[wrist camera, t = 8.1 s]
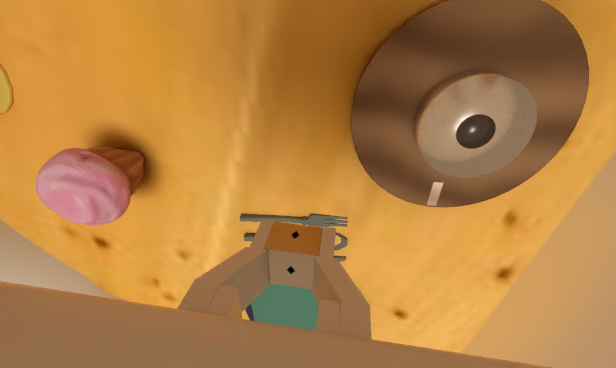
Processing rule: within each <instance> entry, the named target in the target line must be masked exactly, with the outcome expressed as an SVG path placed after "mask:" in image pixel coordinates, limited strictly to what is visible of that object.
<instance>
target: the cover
mask: <svg viewBox="0 0 616 368" xmlns="http://www.w3.org/2000/svg"><path fill="white" fill-rule="evenodd" d="M536 121H537V108H536V103H535V101H534V98H533V96H532V95H531V93H530V92H529V91H528V90H527V89H526V88H525V86H523V85H522V84H520V83H519V82H517V81H515V80H513V79H511V78H508V77H505V76H502V75H500V74H497V73H494V72H491V71H487V70H467V71H463V72H459V73H456V74H453V75H451V76H449V77H447V78H445V79H443V80H442V81H440V82H439V83H437V84H436V85H435V86H434V87H432V88H431V89H430V90H429V91H428V92H427V94H426V95H425V96H424V97H423V99H422V100H421V102H420V103H419V105H418V107H417V110H416V112H415V115H414V120H413V134H414V138H415V141H416V143H417V145H418V147H419V149H420V151H421V153H422V155H423V157H424V158H425V160H426V161H427V163H428V164H429V165H430V166H431V167H432V168H434V169H435V170H437V171H438V172H440V173H442V174H444V175H448V176H451V177H457V178H471V177H478V176H482V175H486V174H489V173H491V172H494V171H496V170H498V169H500V168H502V167H503V166H505V165H507V164H508V163H509V162H511V161H512V160H513V159H514V158H515V157H517V156H518V155H519V154H520V153H521V152H522V150H523V149H524V148H525V147H526V145H527V144H528V142H529V141H530V139H531V137H532V135H533V132H534V130H535V126H536Z"/></svg>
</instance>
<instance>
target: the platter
mask: <svg viewBox="0 0 616 368" xmlns="http://www.w3.org/2000/svg"><path fill="white" fill-rule="evenodd" d="M467 70H487V71H491V72H494V73H497V74H500V75H502V76H505V77H508V78H511V79H513V80H515V81H517V82H519V83H520V84H522V85H523V86H525V88H526V89H527V90H528V91H529V92H530V93H531V95H532V96H533V98H534V101H535V103H536V108H537V121H536V126H535V130H534V132H533V135H532V137H531V139H530V141H529V142H528V144H527V145H526V147H525V148H524V149H523V150H522V152H521V153H520V154H519V155H518V156H517V157H515V158H514V159H513V160H512V161H511V162H509V163H508V164H507V165H505V166H503V167H502V168H500V169H498V170H496V171H494V172H491V173H489V174H486V175H482V176H478V177H471V178H457V177H451V176H448V175H444V174H442V173H440V172H438V171H437V170H435V169H434V168H432V167H431V166H430V165H429V164H428V163H427V161H426V160H425V158H424V157H423V155H422V153H421V151H420V149H419V147H418V145H417V143H416V141H415V138H414V134H413V120H414V115H415V112H416V110H417V107H418V105H419V103H420V102H421V100H422V99H423V97H424V96H425V95H426V94H427V92H428V91H429V90H430V89H431V88H432V87H434V86H435V85H436V84H437V83H439V82H440V81H442V80H443V79H445V78H447V77H449V76H451V75H453V74H456V73H459V72H463V71H467ZM588 85H589V66H588V60H587V54H586V51H585V48H584V45H583V42H582V40H581V38H580V36H579V34H578V33H577V31H576V29H575V28H574V26H573V25H572V24H571V23H570V22H569V21H568V19H567V18H566V17H565V16H564V15H563V14H562V13H560V12H559V11H557V10H556V9H555V8H553V7H552V6H551V5H549V4H547V3H545V2H543V1H540V0H448V1H445V2H442V3H440V4H438V5H435V6H433V7H431V8H429V9H427V10H425V11H423V12H422V13H420V14H418V15H417V16H415V17H414V18H412V19H411V20H409V21H408V22H407V23H405V24H404V25H403V26H402V27H400V28H399V29H398V30H397V31H395V32H394V33H393V34H392V35H391V36H390V37H389V38H388V39H387V40H386V41H385V42H384V44H383V45H382V46H381V47H380V49H379V50H378V51H377V52H376V54H375V55H374V56H373V58H372V59H371V61H370V63H369V64H368V66H367V68H366V69H365V71H364V73H363V75H362V78H361V80H360V82H359V84H358V87H357V91H356V94H355V97H354V102H353V108H352V121H351V127H352V138H353V143H354V147H355V150H356V153H357V156H358V158H359V160H360V162H361V164H362V166H363V167H364V169H365V171H366V172H367V173H368V174H369V176H370V177H371V178H372V179H373V180H374V181H375V182H376V183H377V184H378V185H379V186H380V187H382V188H383V189H384V190H386V191H387V192H388V193H390V194H392V195H394V196H396V197H397V198H400V199H402V200H405V201H407V202H411V203H414V204H418V205H423V206H429V207H457V206H464V205H470V204H474V203H478V202H482V201H485V200H488V199H491V198H494V197H496V196H499V195H501V194H503V193H505V192H508V191H510V190H511V189H513V188H515V187H517V186H518V185H520V184H522V183H523V182H525V181H526V180H528V179H529V178H531V177H532V176H533V175H535V174H536V173H537V172H538V171H539V170H541V169H542V168H543V167H544V166H545V165H546V164H547V163H548V162H549V161H550V160H551V159H552V158H553V157H554V156H555V155H556V154H557V153H558V151H559V150H560V149H561V148H562V146H563V145H564V144H565V143H566V141H567V140H568V138H569V136H570V135H571V133H572V132H573V130H574V128H575V126H576V124H577V122H578V120H579V118H580V116H581V113H582V110H583V107H584V104H585V101H586V97H587V91H588Z"/></svg>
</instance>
